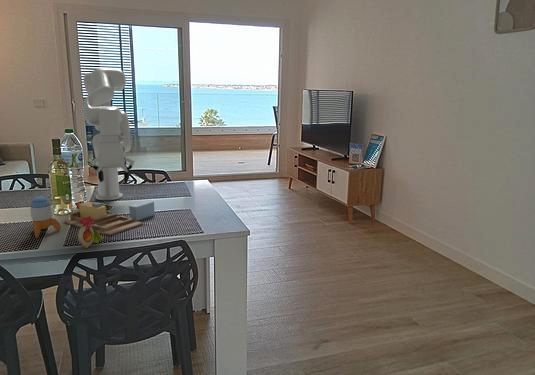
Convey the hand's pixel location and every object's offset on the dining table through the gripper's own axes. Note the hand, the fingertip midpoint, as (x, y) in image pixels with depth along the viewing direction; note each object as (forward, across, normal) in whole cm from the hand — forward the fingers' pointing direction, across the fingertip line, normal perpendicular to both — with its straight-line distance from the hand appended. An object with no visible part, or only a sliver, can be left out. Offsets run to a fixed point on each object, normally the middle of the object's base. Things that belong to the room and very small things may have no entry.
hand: (114, 181), depth 173 cm
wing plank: (+16, -10, -3) cm, 19 cm away
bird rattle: (+17, +2, +30) cm, 34 cm away
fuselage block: (+16, +9, +2) cm, 18 cm away
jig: (+16, +4, +6) cm, 18 cm away
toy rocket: (+17, +24, +14) cm, 32 cm away
